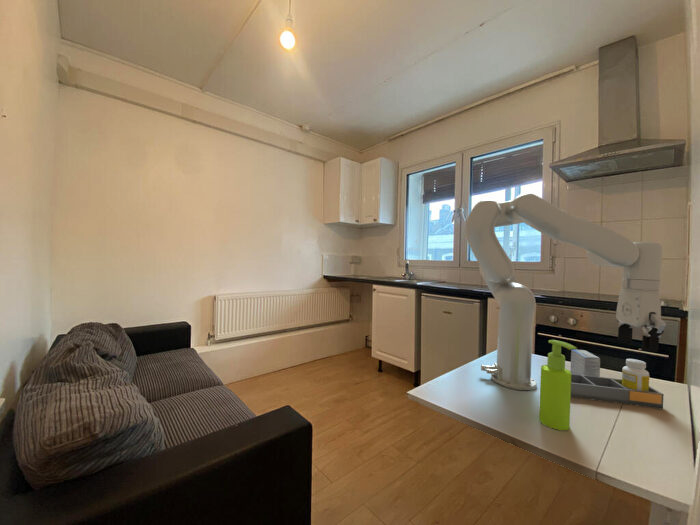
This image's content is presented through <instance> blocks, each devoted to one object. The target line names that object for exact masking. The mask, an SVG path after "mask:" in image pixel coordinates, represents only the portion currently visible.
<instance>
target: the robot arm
mask: <svg viewBox="0 0 700 525" xmlns="http://www.w3.org/2000/svg"><path fill="white" fill-rule="evenodd" d="M522 223H524V224H526V225H527V226H529V227H531V228H532V229H534V230H535V231H538V232H539V233H541V234H542V235H544V236H546V237H548V238H549V239H551V240H553V241H557V242H561V243H567V244H570V245H574V246H577V247H579V248H582V249H583V250H586V258H587V260H588V262H590V263H591V264H593V265H595V266H598V267H606V268H608V267H609V268H622V271H621V272H622V273H621V274H622V277H621V289H620V291H619V295H618V298H617V305H616V310H615V314H616V315H615V318H616V320H617V327H618V328H617V340H618V341H624V342H632V341H633V330H634V328H633V327H636V328H641V329H642V331H643V334H644V335H642V343H641V350H642V351H646V352H655V353H657V352H659V347H660V346H659V345H660V343H659V342H660V338H661V337H662V334H664V333H665V332H664V330H665V328H666V326H667V323H666V322H665V321H664V320H663V319H662V317H661V316H662V306H661V298H660V297H661V296H660V291H661V278H662V260H663V246H662V244H661V243H660V242H655V241H632V240H631V239H629V238H627V237H625V236H623V235H621V234H620V233H619V232H616V231H614V230H612V229H611V228H608V227H606V226H603V225H601V224H599V223H595V222H593V221H590V220H587V219H584V218H581V217H579V216H576V215H574V214H571V213H569V212H567V211H566V210H564V209H562V208H560V207H558V206H556V205H555V204H553V203H550V202H549V201H548V200H545V199H543V198H542V197H540V196H538V195H536V194H534V193H530V192H529V193H528V192H526V193H525V192H524V193H520V194H519V195H518V196H516V197H515V198H513V199H511V200H507V201H501V202H497V201H496V200H494V199H489V198H486V199H482V200H480V201H479V202H477V203H475V205H474V206H473V208H472V209H471V211H470V213H469V214H468V216H467V219H466V223H465V237H466V241H467V243H468V245H469V247H470V250H471V252H472V253H473V255H474V258H475V259H476V261H477V262H478V268H479V273H480V275H481V277H482V279H483V281H484V282H485V284H486V285H487V288H488V290H489V291H490V293H491V294H492V296H493V298H494V299H495V301H496V302H497V304H498V305H499V311H498V320H497V349H496V351H497V352H496V362H494V363H493V364H491V365H487V364H481V365H480V371H483V372H486V374H489V375H491V376H490V377H491V380H493V381H494V383H497V384H498V385H500V386H503V387H506V388H508V389H512V390H518V391H519V390H520V391H532V390H534V389H536V388H537V386H538V385H537V381H536V380H535V379H534V378H533V377H532V355H533V353H532V350H533V329H534V328H533V326H534V316H535V313H536V311H535V310H536V304H537V303H536V298H535V294H534V293H533V291H532V290H531V289H530V288H529V287H528V286H526V285H524V284H521V283H520V281H519V280H518V278H517V277H516V275H515V266H514V263H513V261H512V260H511V259H510V257H509V256H508V254H507V252H506V251H505V250H504V247H503V246H502V244H501V243H500V241H499V239H498V237H497V235H496V231H495V230H496V229H495V228H499V227H506V226H513V225H518V224H519V225H520V224H522Z"/></svg>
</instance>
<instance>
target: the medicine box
mask: <svg viewBox="0 0 700 525" xmlns="http://www.w3.org/2000/svg"><path fill="white" fill-rule="evenodd" d="M570 351H571V352H570V372H571V374H579V375H587V376H596V377H601V374H600V373H601V358H600V357H599V356H596V355H595V354H593V353H592V352H589V351H588V350H584V349H572V350H570Z"/></svg>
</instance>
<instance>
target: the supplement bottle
mask: <svg viewBox="0 0 700 525" xmlns="http://www.w3.org/2000/svg"><path fill="white" fill-rule="evenodd" d="M646 368H647V362H645V361H643V360H639V359H636V358H635V359H634V358H626V359H625V366H623V367H622V371H621V379H622V386H624V387H626V388H627V389H631V390H639V391H647V392H649V386H650V372H649V371H648V370H646Z"/></svg>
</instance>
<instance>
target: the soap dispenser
mask: <svg viewBox="0 0 700 525" xmlns="http://www.w3.org/2000/svg"><path fill="white" fill-rule="evenodd" d="M547 342H548V343H549V344H551V345H552V346H551V352H548V353H547V364H544V365H543V364H542V365H541V366H540V383H539V384H540V385H539V386H540V388H539V414H538V418H539V421H541V422H542V424H543V425H544V424H545V425H544V426H546V427H547V426H549V427H548V428H550V427H551V428H550V429H552V428H554V429H553V430H555V429H558V430H557V431H560V430H563V432H564V430H566V431H568V430H570V426H571V424H570V420H571V418H570V417H571V398H572V397H571V370H569V369H567V368H566V355H564V354H562V347H563V348H566V349H567V350H569V351H571V350H578V347H577V346H575V345H573V344H571V343H568V342H565V341H561V340H556V339H549V340H548V341H547ZM541 422H540V423H541Z"/></svg>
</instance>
